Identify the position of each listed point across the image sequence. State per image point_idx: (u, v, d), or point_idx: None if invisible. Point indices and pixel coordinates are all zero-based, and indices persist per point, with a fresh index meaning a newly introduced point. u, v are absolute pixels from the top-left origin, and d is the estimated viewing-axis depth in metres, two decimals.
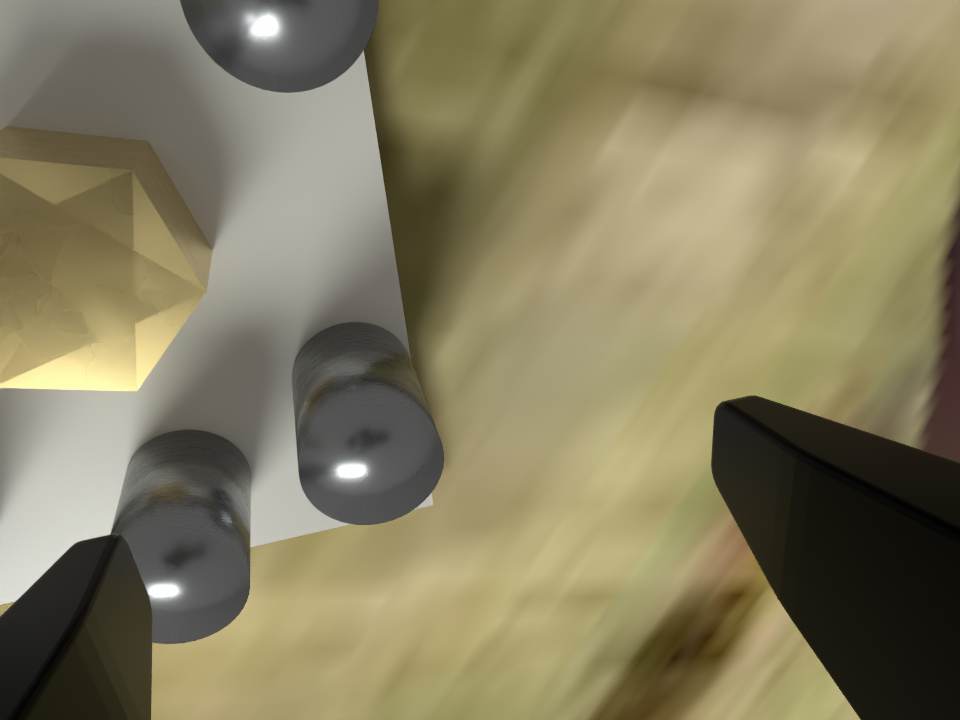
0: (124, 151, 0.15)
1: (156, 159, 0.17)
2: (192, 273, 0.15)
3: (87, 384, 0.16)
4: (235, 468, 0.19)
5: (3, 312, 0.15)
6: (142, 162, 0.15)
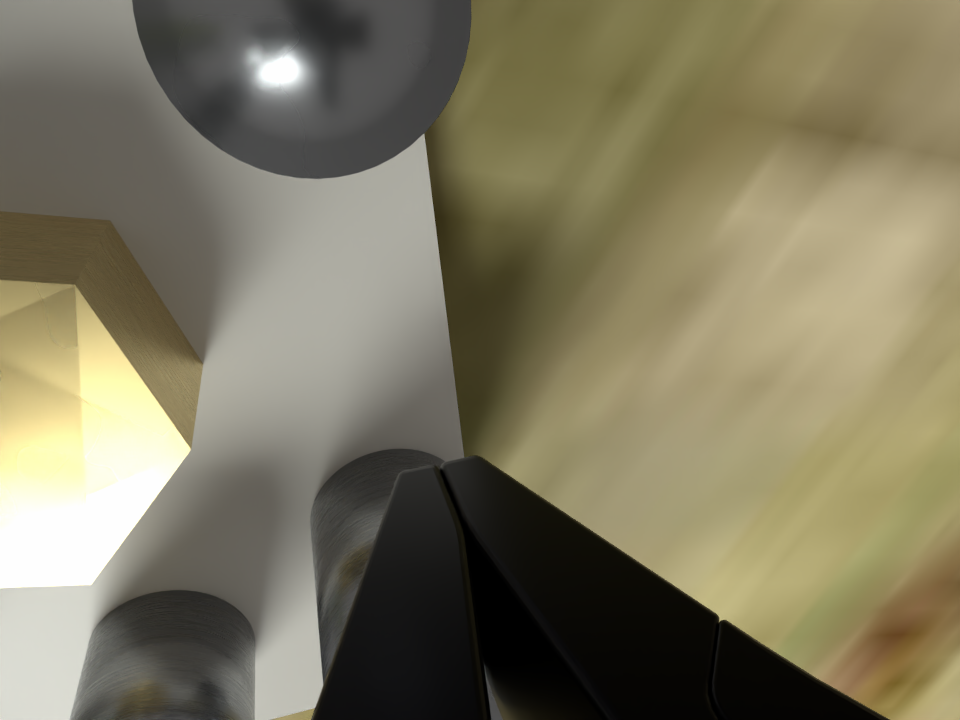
0: (70, 243, 0.10)
1: (121, 246, 0.11)
2: (170, 425, 0.10)
3: (17, 579, 0.11)
4: (233, 647, 0.14)
5: None
6: (96, 261, 0.10)
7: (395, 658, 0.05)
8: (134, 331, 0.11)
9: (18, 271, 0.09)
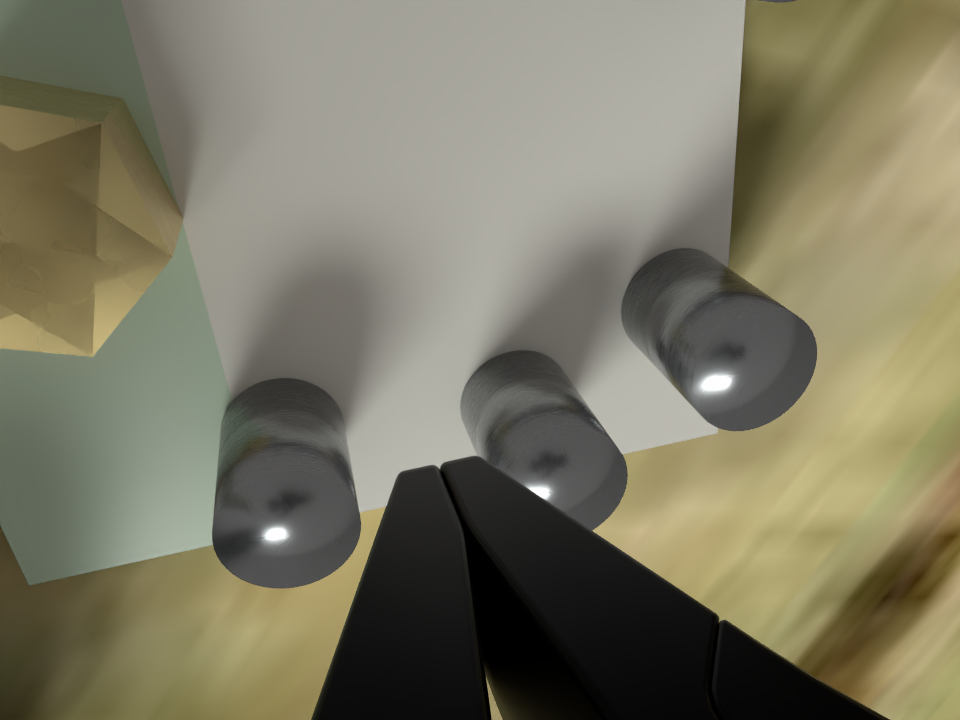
0: (95, 104, 0.15)
1: (130, 117, 0.16)
2: (158, 236, 0.15)
3: (40, 345, 0.15)
4: None
5: None
6: (114, 117, 0.15)
7: (395, 658, 0.05)
8: (137, 170, 0.15)
9: (62, 112, 0.14)
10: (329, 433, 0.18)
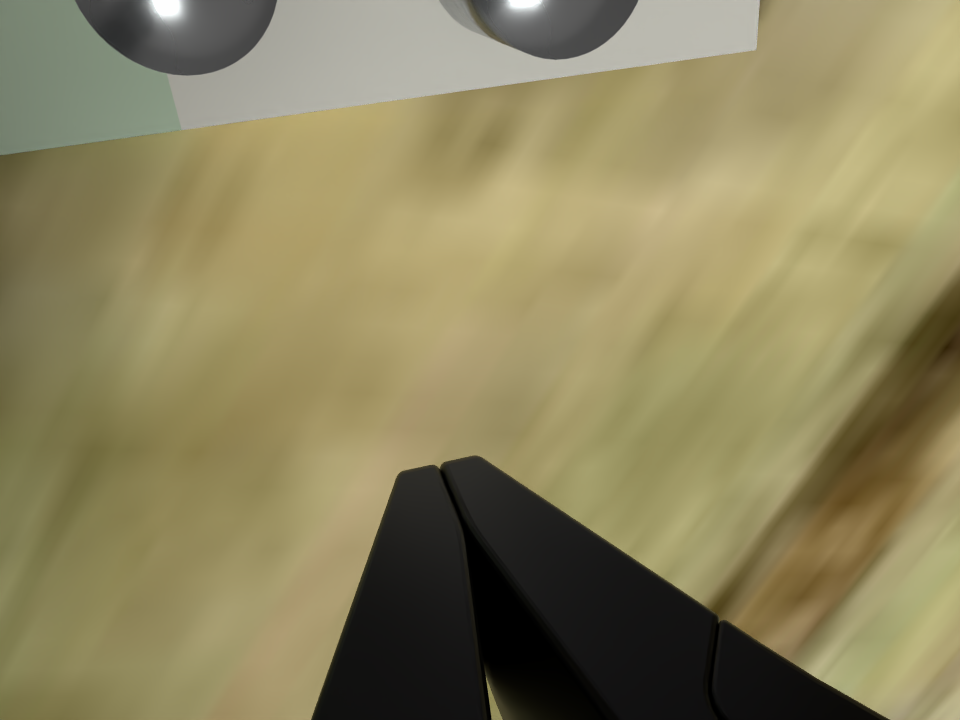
0: None
1: None
2: None
3: None
4: None
5: None
6: None
7: (395, 658, 0.05)
8: None
9: None
10: None
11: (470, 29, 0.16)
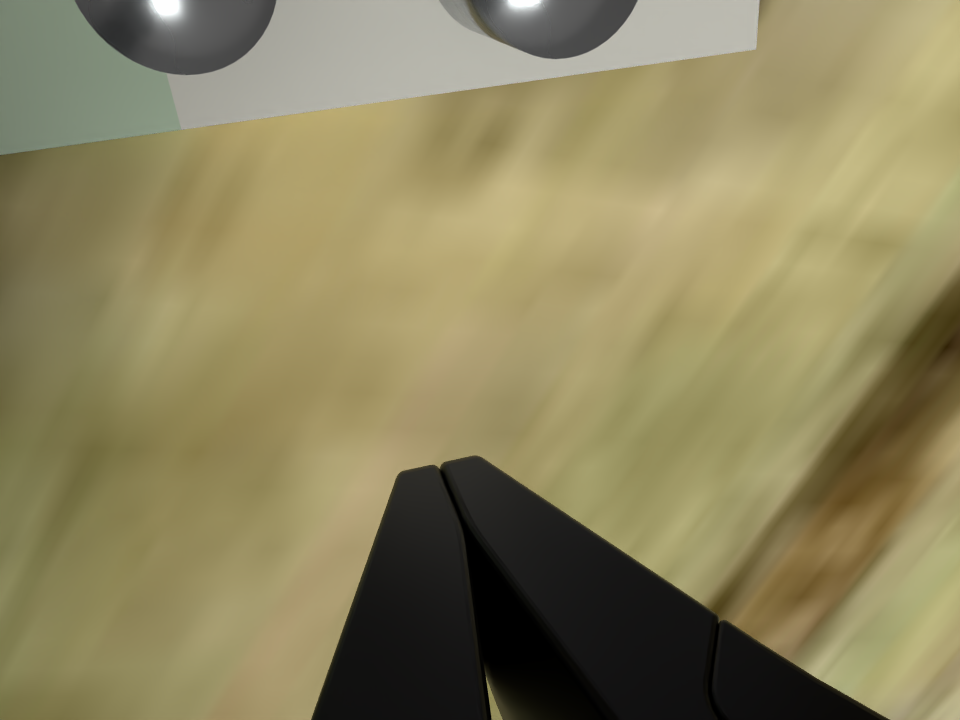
0: None
1: None
2: None
3: None
4: None
5: None
6: None
7: (395, 658, 0.05)
8: None
9: None
10: None
11: (470, 28, 0.16)
